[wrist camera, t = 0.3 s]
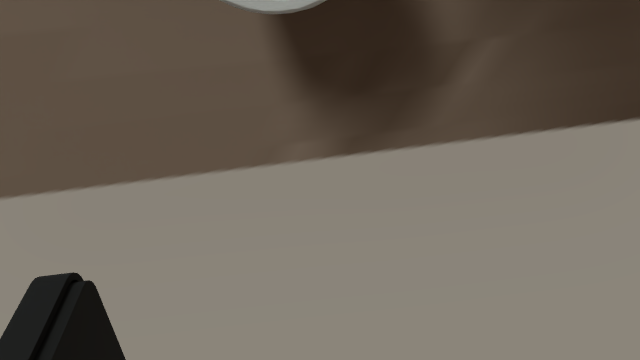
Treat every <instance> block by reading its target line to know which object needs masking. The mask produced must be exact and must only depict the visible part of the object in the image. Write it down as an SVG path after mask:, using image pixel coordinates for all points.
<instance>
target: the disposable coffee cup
mask: <svg viewBox="0 0 640 360" xmlns="http://www.w3.org/2000/svg"><path fill="white" fill-rule="evenodd" d="M220 1H223V2H225V3H227V4H229V5H231V6H233V7H235V8H239V9H242V10H246V11H250V12H254V13H263V14H285V13H294V12H298V11H302V10H305V9H309V8H313V7H315V6H317V5H319V4H321V3H323V2H325V1H327V0H220Z"/></svg>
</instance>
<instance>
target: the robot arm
mask: <svg viewBox="0 0 640 360" xmlns="http://www.w3.org/2000/svg"><path fill="white" fill-rule="evenodd" d="M0 360H126V359H125V357H124V355H123V352H122V350H121V347H120V345H119V342H118V340H117V338H116V335H115V332H114V330H113V328H112V325H111V323H110V320H109V318H108V316H107V313H106V311H105V309H104V306H103V303H102V301H101V298H100V296H99V293H98V291H97V289H96V286H95V285H94V283H93V282H92V281H83V279H82V277H81V276H80V275H79V274H78V273H67V274H57V275H50V276H41V277H37V278H35V279H34V280H33V281H32V283H31V284H30V286H29V288H28V289H27V291H26V293H25V295H24V297H23V299H22V300H21V302H20V304H19V306H18V308H17V310H16V311H15V313H14V315H13V317H12V319H11V320H10V322H9V324H8V326H7V328H6V330H5V331H4V333H3V335H2V337H1V339H0Z"/></svg>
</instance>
